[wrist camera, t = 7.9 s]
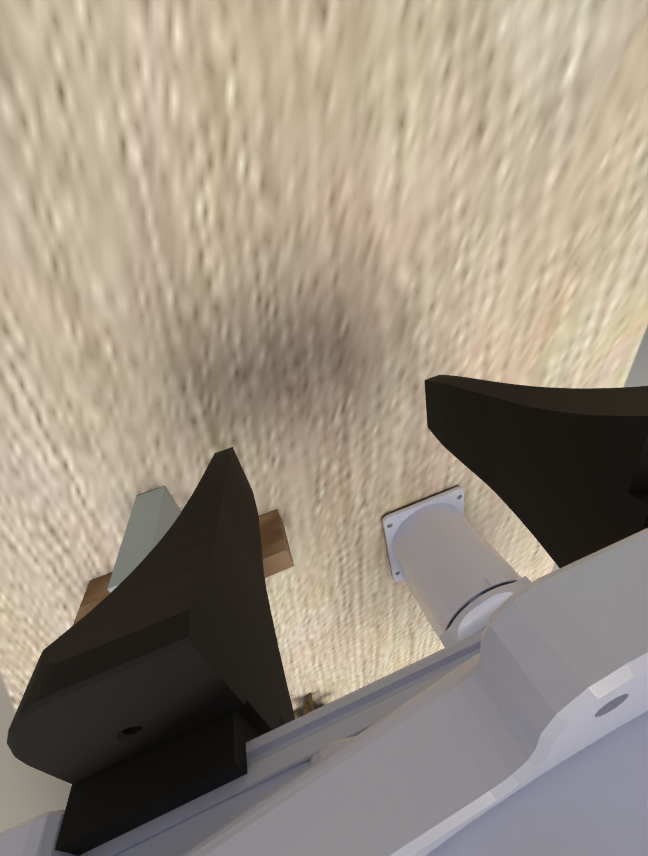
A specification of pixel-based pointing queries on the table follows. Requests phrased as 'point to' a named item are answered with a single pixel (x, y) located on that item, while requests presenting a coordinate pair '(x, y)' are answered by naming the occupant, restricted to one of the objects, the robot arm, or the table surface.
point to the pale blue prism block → (144, 531)
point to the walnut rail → (272, 553)
